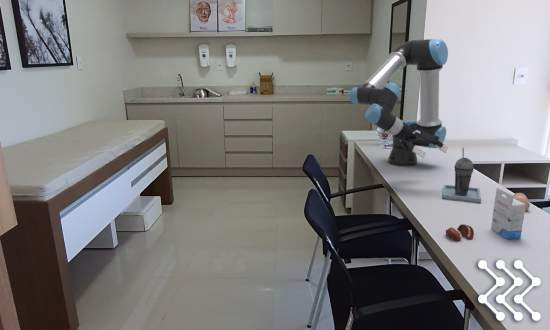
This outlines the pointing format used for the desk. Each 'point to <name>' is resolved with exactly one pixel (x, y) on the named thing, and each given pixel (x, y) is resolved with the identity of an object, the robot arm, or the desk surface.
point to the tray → (471, 196)
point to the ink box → (507, 215)
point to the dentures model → (460, 232)
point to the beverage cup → (463, 175)
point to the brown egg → (522, 199)
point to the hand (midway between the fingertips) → (435, 152)
